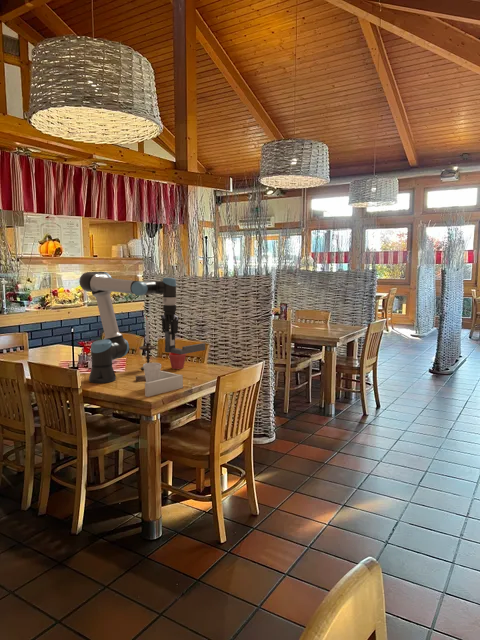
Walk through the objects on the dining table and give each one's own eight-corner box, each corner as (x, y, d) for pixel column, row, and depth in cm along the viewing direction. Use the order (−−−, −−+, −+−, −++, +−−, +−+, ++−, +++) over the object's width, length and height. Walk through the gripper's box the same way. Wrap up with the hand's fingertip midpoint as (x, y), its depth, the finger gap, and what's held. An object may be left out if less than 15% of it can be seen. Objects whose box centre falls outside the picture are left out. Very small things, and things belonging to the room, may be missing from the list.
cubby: (125, 390, 255) (124, 378, 254) (160, 382, 274) (160, 370, 273) (147, 396, 243) (147, 383, 242) (182, 387, 262) (182, 375, 261)
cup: (149, 384, 268) (149, 361, 267) (165, 386, 265) (164, 363, 263) (139, 388, 259) (139, 365, 258) (155, 390, 256) (155, 366, 254)
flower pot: (183, 369, 307) (183, 355, 306) (167, 369, 309) (166, 354, 308) (187, 366, 318) (187, 352, 317) (172, 366, 319) (171, 351, 318)
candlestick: (143, 371, 304) (141, 316, 300) (137, 368, 313) (136, 315, 309) (159, 369, 309) (158, 315, 305) (153, 366, 318) (152, 314, 315)
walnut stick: (136, 381, 276) (136, 376, 276) (135, 380, 279) (135, 375, 279) (163, 379, 282) (163, 374, 282) (162, 378, 285) (162, 373, 284)
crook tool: (163, 351, 276) (163, 331, 274) (189, 347, 291) (189, 328, 290) (179, 354, 267) (179, 333, 265) (205, 350, 282) (205, 330, 281)
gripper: (155, 304, 275) (156, 344, 277) (174, 305, 265) (174, 347, 267) (165, 303, 281) (165, 342, 283) (184, 305, 270) (184, 345, 273)
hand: (170, 344), depth 275 cm, fingers closed on crook tool, 3 cm apart
